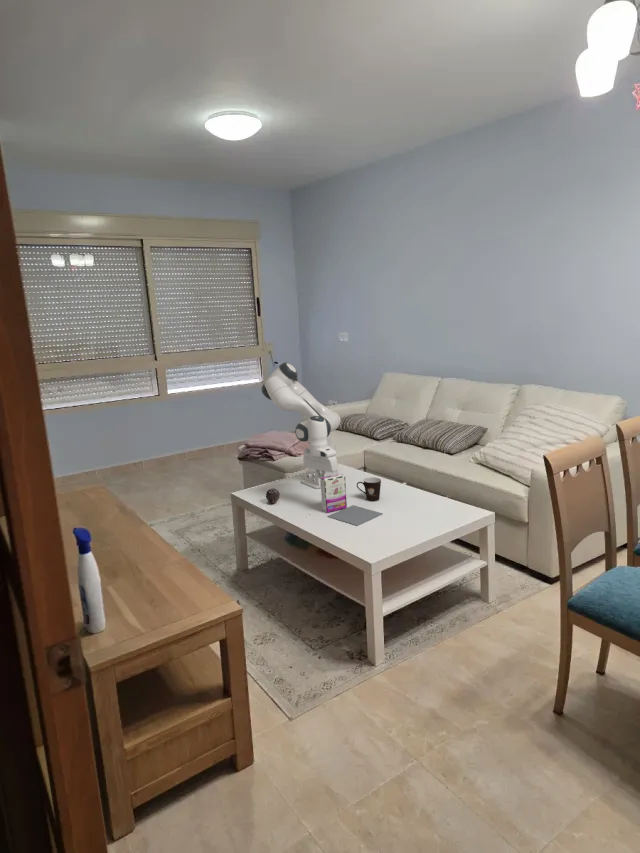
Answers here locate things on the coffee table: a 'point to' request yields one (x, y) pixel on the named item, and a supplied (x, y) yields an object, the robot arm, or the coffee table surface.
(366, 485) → the coffee mug
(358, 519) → the mat
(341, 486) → the candy bar box
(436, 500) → the coffee table surface
